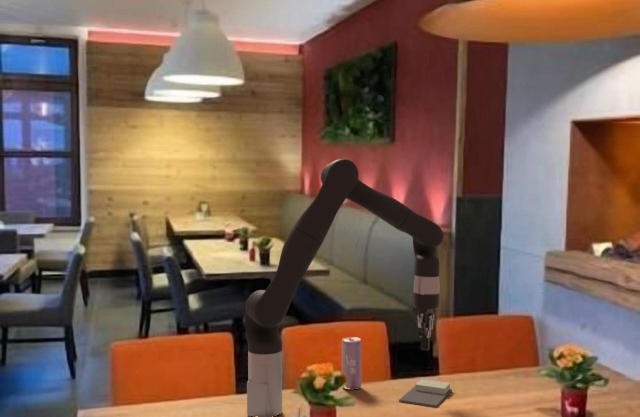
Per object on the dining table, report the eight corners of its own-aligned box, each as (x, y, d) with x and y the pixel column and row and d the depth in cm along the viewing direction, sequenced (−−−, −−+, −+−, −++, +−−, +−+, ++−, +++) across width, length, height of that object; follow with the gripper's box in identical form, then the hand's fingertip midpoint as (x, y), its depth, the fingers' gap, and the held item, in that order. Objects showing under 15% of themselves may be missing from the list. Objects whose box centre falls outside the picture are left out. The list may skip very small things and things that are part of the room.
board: (444, 388, 195) (450, 383, 201) (415, 384, 199) (421, 379, 205) (444, 394, 196) (450, 389, 201) (415, 390, 200) (421, 385, 205)
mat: (436, 407, 186) (436, 405, 186) (399, 401, 191) (399, 399, 191) (451, 391, 200) (451, 389, 200) (416, 386, 205) (416, 384, 205)
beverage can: (361, 385, 207) (361, 337, 206) (360, 391, 201) (360, 341, 200) (342, 384, 207) (342, 336, 207) (341, 390, 201) (341, 341, 201)
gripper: (420, 287, 202) (419, 344, 203) (406, 292, 190) (405, 353, 191) (445, 289, 199) (443, 347, 199) (432, 295, 187) (430, 356, 187)
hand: (424, 350), depth 195 cm, fingers closed
